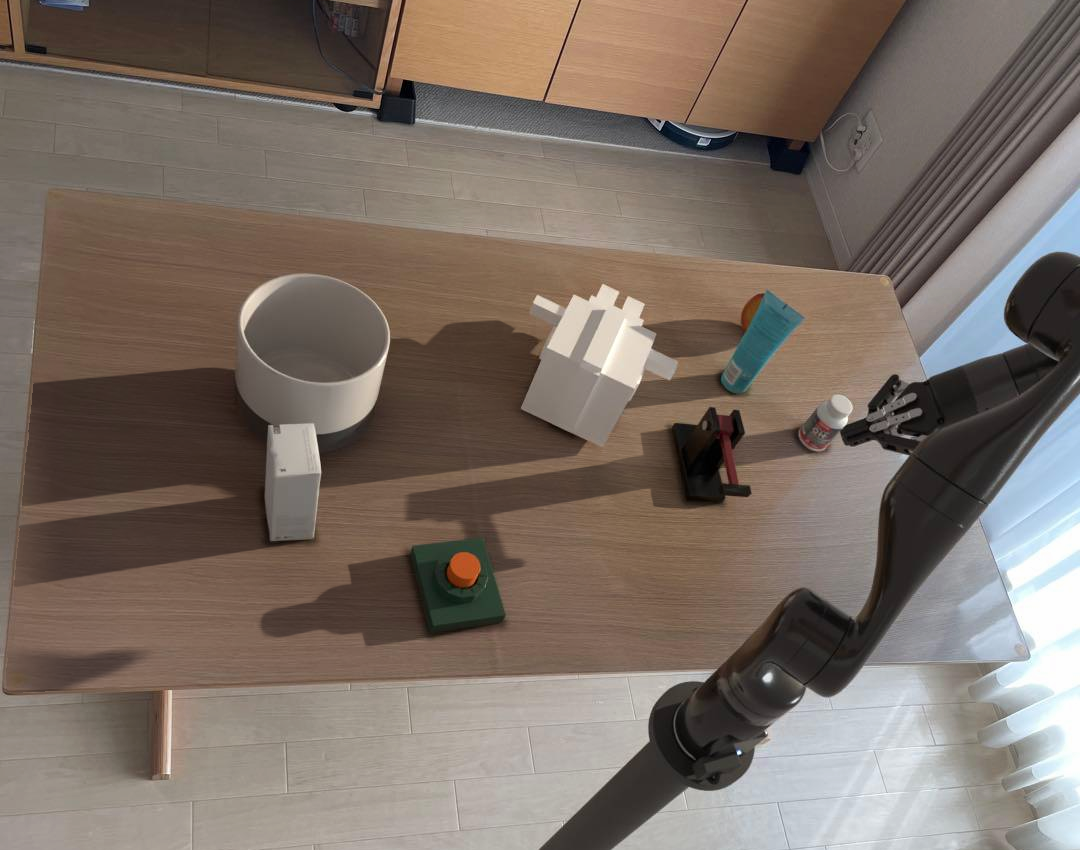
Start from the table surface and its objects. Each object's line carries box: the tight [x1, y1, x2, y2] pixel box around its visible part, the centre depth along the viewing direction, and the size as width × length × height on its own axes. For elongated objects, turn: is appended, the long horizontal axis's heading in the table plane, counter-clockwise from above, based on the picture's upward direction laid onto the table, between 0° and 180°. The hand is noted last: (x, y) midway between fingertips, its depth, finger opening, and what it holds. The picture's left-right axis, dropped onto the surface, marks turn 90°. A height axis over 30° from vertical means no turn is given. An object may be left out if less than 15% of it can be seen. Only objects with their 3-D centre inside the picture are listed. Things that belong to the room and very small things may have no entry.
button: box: [446, 552, 480, 588], centre depth 131 cm, size 4×4×3 cm
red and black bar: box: [716, 414, 752, 498], centre depth 148 cm, size 13×4×2 cm, turn 6°
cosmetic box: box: [264, 423, 322, 542], centre depth 128 cm, size 8×6×15 cm
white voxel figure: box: [520, 283, 680, 448], centre depth 158 cm, size 15×25×28 cm
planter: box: [233, 273, 391, 454], centre depth 136 cm, size 19×19×18 cm
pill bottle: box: [798, 394, 854, 452], centre depth 165 cm, size 5×5×10 cm
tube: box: [720, 289, 806, 394], centre depth 164 cm, size 7×5×19 cm, turn 57°
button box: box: [409, 537, 507, 634], centre depth 133 cm, size 12×10×4 cm
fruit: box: [740, 292, 765, 334], centre depth 177 cm, size 8×8×8 cm
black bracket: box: [670, 406, 746, 504], centre depth 154 cm, size 14×6×12 cm, turn 5°
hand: (842, 438), depth 136 cm, fingers closed
